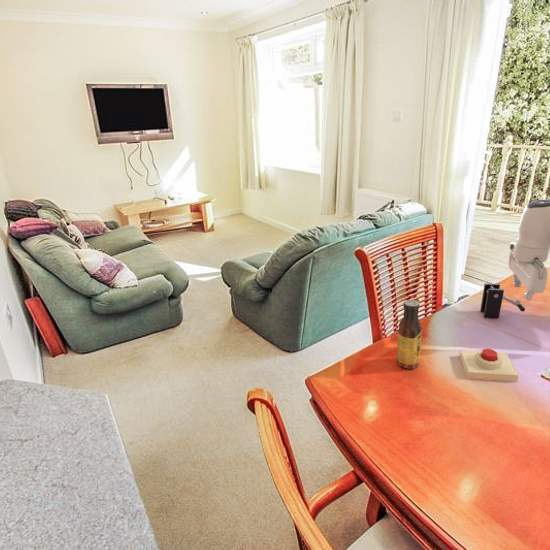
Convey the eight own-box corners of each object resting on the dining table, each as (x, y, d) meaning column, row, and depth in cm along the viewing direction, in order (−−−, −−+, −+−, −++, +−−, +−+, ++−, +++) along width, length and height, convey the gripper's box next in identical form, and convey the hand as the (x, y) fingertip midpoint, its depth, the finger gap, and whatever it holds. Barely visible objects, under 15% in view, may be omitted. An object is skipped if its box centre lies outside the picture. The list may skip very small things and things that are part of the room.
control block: (504, 358, 107) (507, 347, 106) (517, 381, 98) (520, 369, 97) (459, 356, 110) (461, 344, 108) (467, 378, 101) (469, 366, 100)
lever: (516, 305, 126) (521, 300, 125) (522, 313, 122) (527, 307, 121) (484, 289, 126) (489, 283, 125) (489, 295, 122) (494, 290, 120)
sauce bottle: (420, 371, 105) (426, 309, 97) (397, 370, 107) (401, 309, 99) (417, 356, 111) (422, 297, 103) (395, 356, 113) (398, 297, 104)
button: (494, 354, 104) (495, 349, 103) (498, 362, 101) (499, 356, 100) (479, 353, 105) (480, 348, 104) (483, 361, 102) (484, 356, 101)
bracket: (503, 311, 130) (509, 281, 125) (513, 325, 122) (519, 293, 117) (466, 310, 133) (470, 280, 128) (472, 324, 125) (477, 292, 120)
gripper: (557, 266, 106) (546, 308, 111) (529, 241, 124) (521, 279, 130) (532, 265, 107) (522, 307, 113) (508, 241, 125) (500, 279, 131)
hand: (521, 292), depth 121 cm, fingers open, 8 cm apart
